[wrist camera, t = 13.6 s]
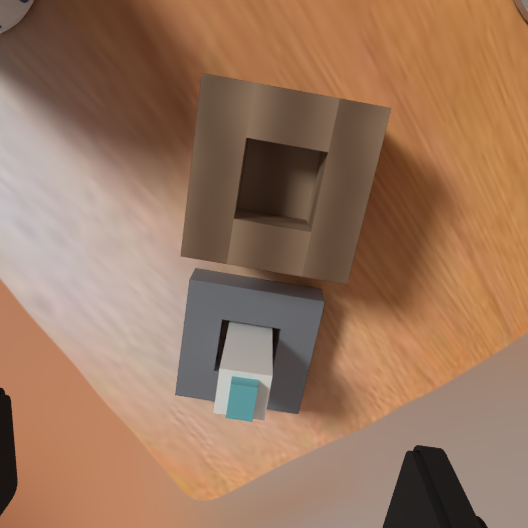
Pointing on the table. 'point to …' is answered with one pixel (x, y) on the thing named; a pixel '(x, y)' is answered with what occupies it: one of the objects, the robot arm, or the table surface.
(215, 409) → the plug peg
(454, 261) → the table surface
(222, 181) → the upper socket tower
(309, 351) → the lower socket plate
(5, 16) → the supplement tub
